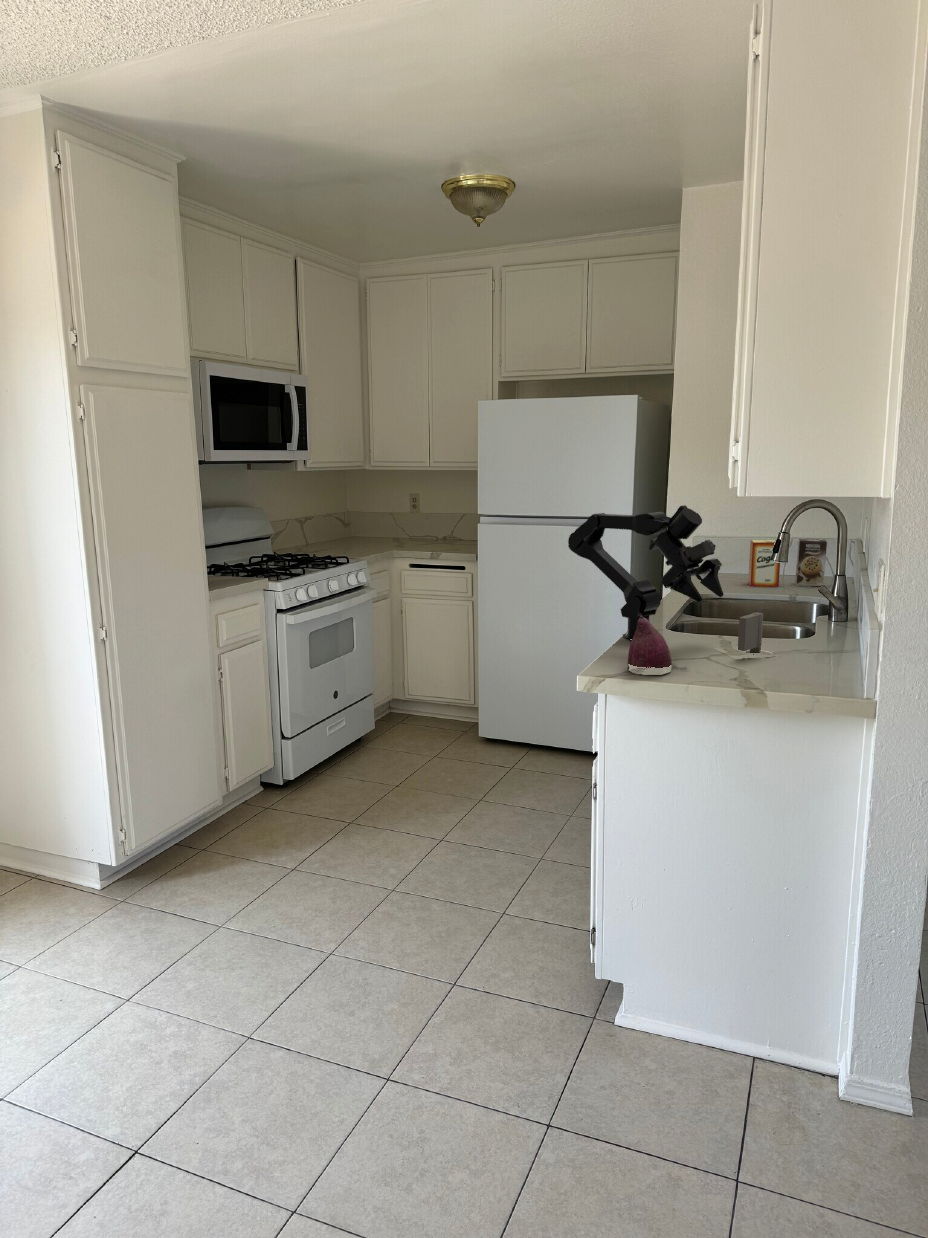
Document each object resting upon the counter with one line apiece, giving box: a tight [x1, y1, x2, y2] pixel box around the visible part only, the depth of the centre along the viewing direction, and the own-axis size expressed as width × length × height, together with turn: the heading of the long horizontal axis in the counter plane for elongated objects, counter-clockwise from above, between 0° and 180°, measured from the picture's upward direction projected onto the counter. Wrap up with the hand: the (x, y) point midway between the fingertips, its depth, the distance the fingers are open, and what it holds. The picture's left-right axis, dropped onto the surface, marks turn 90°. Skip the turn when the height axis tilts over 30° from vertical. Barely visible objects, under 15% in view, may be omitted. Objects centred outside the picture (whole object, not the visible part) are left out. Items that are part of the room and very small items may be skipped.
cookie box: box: [794, 538, 828, 587], centre depth 304 cm, size 9×6×16 cm
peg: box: [737, 612, 773, 655], centre depth 208 cm, size 6×8×10 cm
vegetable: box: [627, 616, 673, 668], centre depth 201 cm, size 10×10×15 cm
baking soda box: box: [747, 539, 781, 588], centre depth 306 cm, size 10×6×16 cm
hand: (711, 598), depth 214 cm, fingers open, 9 cm apart
